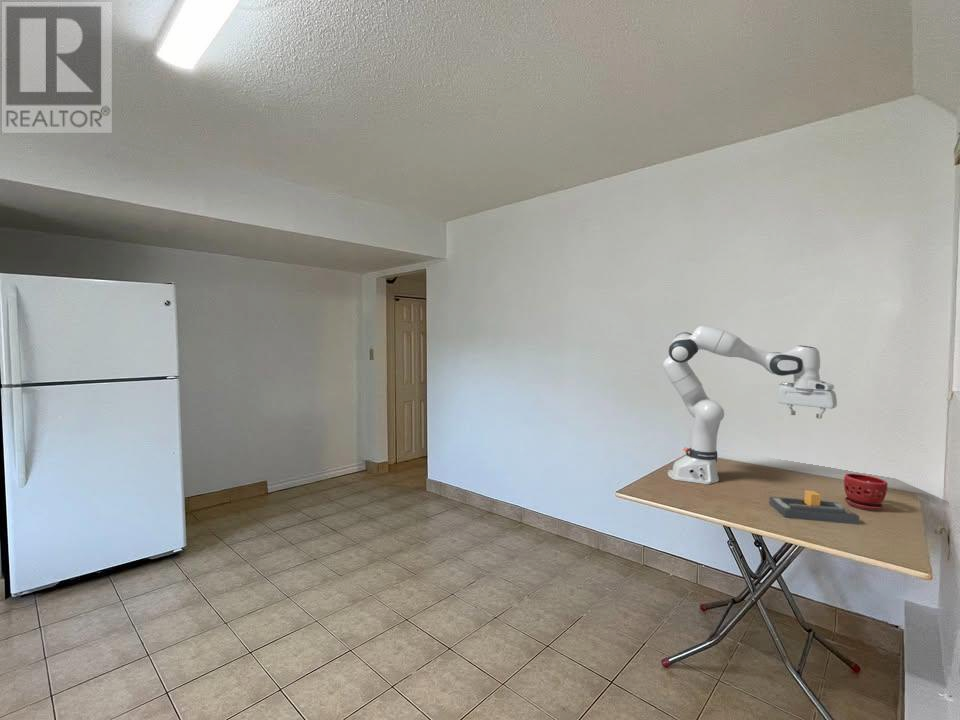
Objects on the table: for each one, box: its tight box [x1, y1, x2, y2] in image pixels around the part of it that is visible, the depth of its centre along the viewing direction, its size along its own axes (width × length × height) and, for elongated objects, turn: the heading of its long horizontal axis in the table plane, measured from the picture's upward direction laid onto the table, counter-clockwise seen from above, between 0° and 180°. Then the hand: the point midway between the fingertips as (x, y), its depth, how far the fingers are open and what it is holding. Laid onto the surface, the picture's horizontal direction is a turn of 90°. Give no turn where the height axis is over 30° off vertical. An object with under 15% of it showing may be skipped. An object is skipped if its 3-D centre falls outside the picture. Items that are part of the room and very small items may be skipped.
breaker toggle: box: [803, 489, 821, 506], centre depth 168 cm, size 3×5×5 cm, turn 167°
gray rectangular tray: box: [768, 496, 860, 525], centre depth 168 cm, size 24×14×4 cm, turn 77°
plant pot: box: [843, 473, 889, 511], centre depth 176 cm, size 13×13×12 cm
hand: (805, 416), depth 183 cm, fingers open, 8 cm apart
